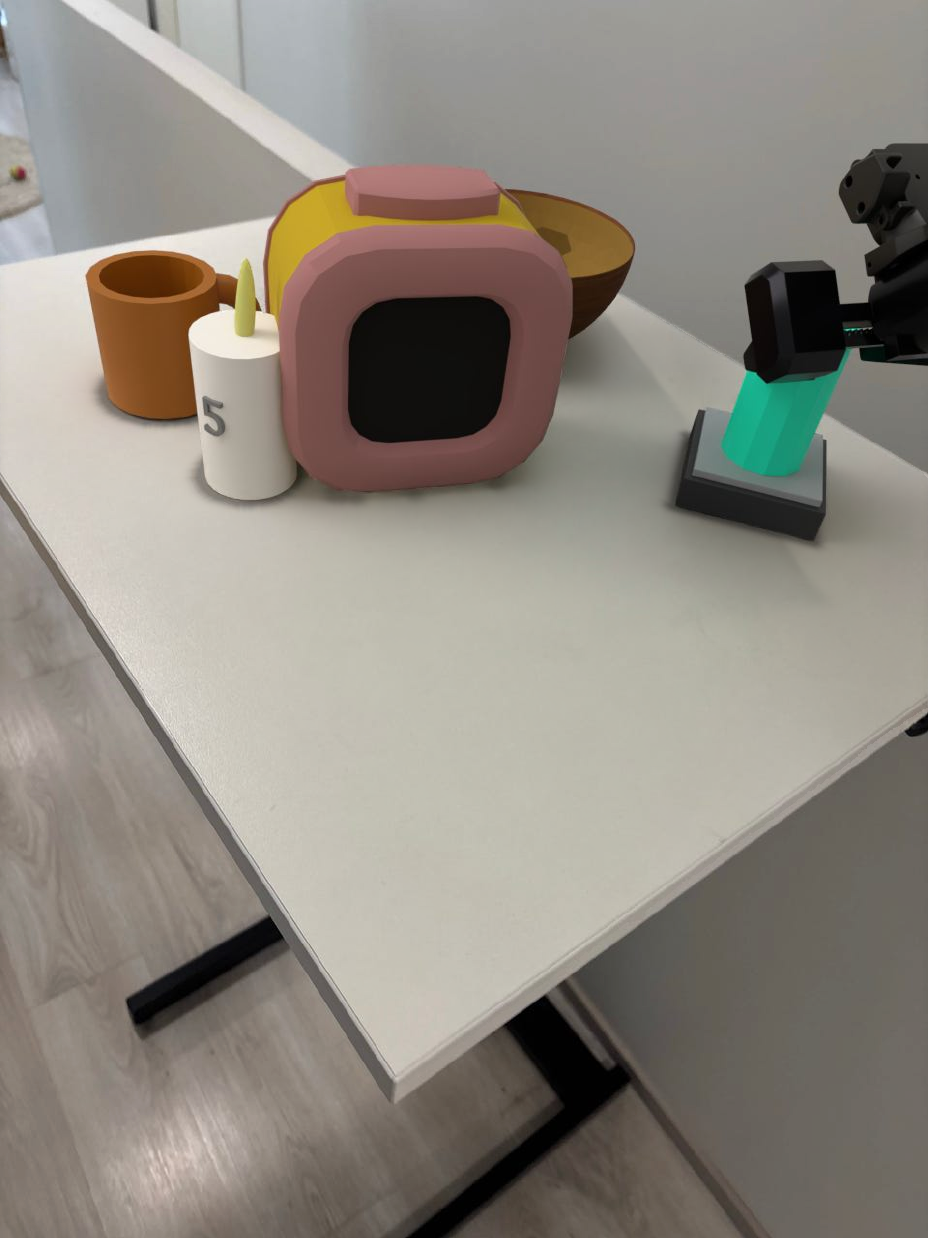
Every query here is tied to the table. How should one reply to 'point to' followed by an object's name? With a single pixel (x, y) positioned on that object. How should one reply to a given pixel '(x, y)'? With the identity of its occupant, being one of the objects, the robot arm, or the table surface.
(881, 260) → the robot arm
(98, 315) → the mug
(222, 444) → the candle
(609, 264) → the bowl
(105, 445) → the table surface
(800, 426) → the candle
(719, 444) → the scale
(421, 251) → the alarm clock
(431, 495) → the table surface
